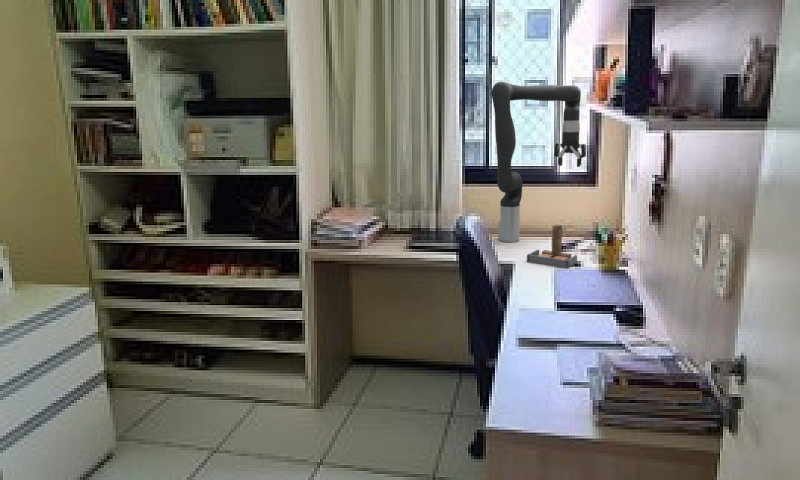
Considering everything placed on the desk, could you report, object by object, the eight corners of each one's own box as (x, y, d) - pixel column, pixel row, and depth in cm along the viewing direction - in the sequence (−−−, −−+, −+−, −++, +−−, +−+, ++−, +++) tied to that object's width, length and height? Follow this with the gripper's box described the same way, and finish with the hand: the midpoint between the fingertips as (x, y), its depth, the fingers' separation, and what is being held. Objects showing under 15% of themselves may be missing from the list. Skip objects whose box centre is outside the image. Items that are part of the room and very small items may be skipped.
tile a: (536, 261, 248) (536, 256, 248) (541, 258, 252) (541, 253, 252) (547, 263, 245) (547, 257, 245) (552, 260, 249) (552, 255, 248)
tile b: (551, 264, 244) (552, 258, 244) (556, 261, 248) (556, 255, 247) (563, 265, 241) (563, 260, 241) (568, 263, 245) (568, 257, 244)
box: (526, 261, 248) (527, 254, 247) (537, 256, 255) (537, 249, 255) (567, 268, 237) (567, 261, 236) (576, 262, 244) (577, 255, 244)
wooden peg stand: (541, 258, 252) (542, 224, 248) (544, 256, 254) (545, 223, 251) (568, 262, 245) (569, 227, 241) (571, 260, 247) (572, 226, 244)
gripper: (552, 131, 266) (551, 166, 270) (583, 131, 258) (581, 168, 261) (559, 129, 272) (558, 164, 276) (589, 130, 263) (587, 166, 267)
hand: (569, 166), depth 269 cm, fingers open, 8 cm apart
